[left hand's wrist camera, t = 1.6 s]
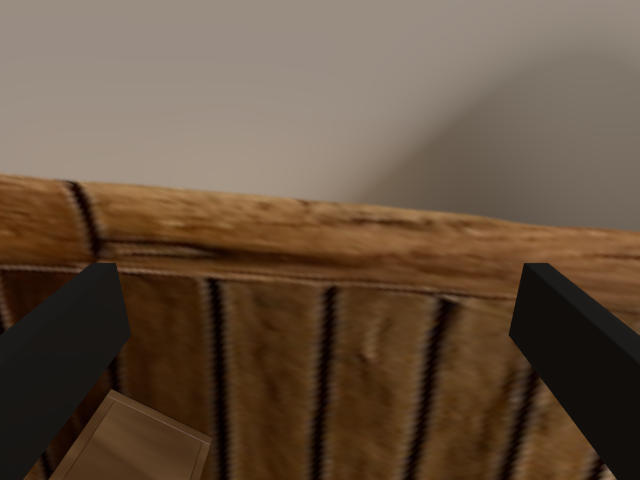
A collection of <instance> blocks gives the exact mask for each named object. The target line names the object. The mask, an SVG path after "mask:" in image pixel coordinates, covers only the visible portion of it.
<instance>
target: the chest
mask: <svg viewBox="0 0 640 480" xmlns="http://www.w3.org/2000/svg"><path fill="white" fill-rule="evenodd" d="M211 441H212V438H211V437H209V436H207V435H205V434H203V433H201V432H199V431H197V430H195V429H193V428H191V427H189V426H187V425H185V424H182V423H180V422H178V421H176V420H174V419H172V418H170V417H168V416H166V415H164V414H162V413H160V412H158V411H156V410H154V409H151V408H149V407H147V406H145V405H143V404H141V403H139V402H137V401H135V400H133V399H131V398H129V397H127V396H125V395H122V394H120V393H118V392H116V391H114V390H112V389H111V390H110V391H109V393H108V394H107V396H106V397H105V399H104V400H103V401H102V403H101V404H100V406H99V407H98V409H97V410H96V412H95V413H94V414H93V416H92V417H91V419H90V420H89V422H88V423H87V425H86V426H85V428H84V429H83V430H82V432H81V433H80V435H79V436H78V438H77V439H76V441H75V442H74V443H73V445H72V446H71V448H70V449H69V451H68V452H67V454H66V455H65V457H64V458H63V459H62V461H61V462H60V464H59V465H58V467H57V468H56V470H55V471H54V472H53V474H52V475H51V477H50V478H49V480H200V477H201V473H202V470H203V467H204V464H205V460H206V457H207V454H208V451H209V447H210V444H211Z"/></svg>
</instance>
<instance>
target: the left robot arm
mask: <svg viewBox="0 0 640 480" xmlns="http://www.w3.org/2000/svg"><path fill="white" fill-rule="evenodd" d="M130 336H131V331H130V326H129V322H128V317H127V312H126V308H125V303H124V298H123V294H122V289H121V285H120V280H119V275H118V271H117V266H116V263H92V264H90V265H89V266H88V267H87V268H85V269H84V270H83V271H81V272H80V273H79V274H78V275H76V276H75V277H74V278H73V279H71V280H70V281H69V282H68V283H66V284H65V285H64V286H62V287H61V288H60V289H59V290H57V291H56V292H55V293H54V294H52V295H51V296H50V297H49V298H47V299H46V300H45V301H43V302H42V303H41V304H40V305H38V306H37V307H36V308H35V309H33V310H32V311H31V312H30V313H28V314H27V315H26V316H24V317H23V318H22V319H21V320H19V321H18V322H17V323H16V324H14V325H13V326H12V327H11V328H9V329H8V330H7V331H5V332H4V333H3V334H2V335H0V480H23V479H24V478H25V476H26V475H27V473H28V472H29V471H30V469H31V468H32V467H33V465H34V464H35V463H36V461H37V460H38V459H39V457H40V456H41V455H42V453H43V452H44V451H45V449H46V448H47V447H48V445H49V444H50V443H51V441H52V440H53V439H54V437H55V436H56V435H57V433H58V432H59V431H60V429H61V428H62V427H63V425H64V424H65V423H66V421H67V420H68V419H69V417H70V416H71V415H72V413H73V412H74V411H75V409H76V408H77V407H78V405H79V404H80V403H81V401H82V400H83V399H84V397H85V396H86V395H87V393H88V392H89V391H90V389H91V388H92V387H93V385H94V384H95V383H96V381H97V380H98V379H99V377H100V376H101V375H102V373H103V372H104V371H105V369H106V368H107V367H108V365H109V364H110V363H111V361H112V360H113V359H114V357H115V356H116V355H117V353H118V352H119V351H120V349H121V348H122V347H123V345H124V344H125V343H126V341H127V340H128V339H129V337H130ZM509 336H510V337H511V339H512V340H513V341H514V343H515V344H516V345H517V347H518V348H519V349H520V351H521V352H522V353H523V355H524V356H525V357H526V359H527V360H528V361H529V363H530V364H531V365H532V367H533V368H534V369H535V371H536V372H537V373H538V375H539V376H540V377H541V379H542V380H543V381H544V383H545V384H546V385H547V387H548V388H549V389H550V391H551V392H552V393H553V395H554V396H555V397H556V399H557V400H558V401H559V403H560V404H561V405H562V407H563V408H564V409H565V411H566V412H567V413H568V415H569V416H570V417H571V419H572V420H573V421H574V423H575V424H576V425H577V427H578V428H579V429H580V431H581V432H582V433H583V435H584V436H585V437H586V439H587V440H588V441H589V443H590V444H591V445H592V447H593V448H594V449H595V451H596V452H597V453H598V455H599V456H600V457H601V459H602V460H603V461H604V463H605V464H606V465H607V467H608V468H609V469H610V471H611V472H612V473H613V475H614V476H615V478H616V479H617V480H640V335H638V334H637V333H636V332H635V331H633V330H632V329H631V328H629V327H628V326H627V325H626V324H624V323H623V322H622V321H621V320H619V319H618V318H617V317H616V316H614V315H613V314H612V313H610V312H609V311H608V310H607V309H605V308H604V307H603V306H602V305H600V304H599V303H598V302H597V301H595V300H594V299H593V298H591V297H590V296H589V295H588V294H586V293H585V292H584V291H583V290H581V289H580V288H579V287H578V286H576V285H575V284H574V283H572V282H571V281H570V280H569V279H567V278H566V277H565V276H564V275H562V274H561V273H560V272H559V271H557V270H556V269H555V268H553V267H552V266H551V265H550V264H548V263H524V266H523V271H522V275H521V280H520V285H519V289H518V294H517V298H516V303H515V308H514V312H513V317H512V322H511V326H510V331H509Z"/></svg>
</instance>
